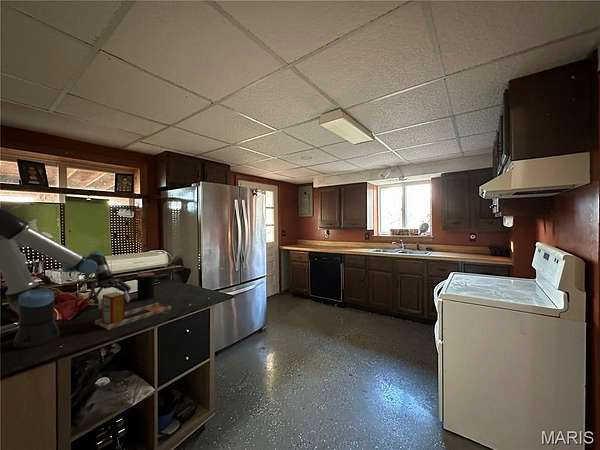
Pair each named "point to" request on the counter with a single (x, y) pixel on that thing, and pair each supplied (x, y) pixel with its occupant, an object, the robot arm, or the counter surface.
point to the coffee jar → (145, 286)
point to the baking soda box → (113, 308)
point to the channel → (136, 316)
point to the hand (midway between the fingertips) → (115, 304)
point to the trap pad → (155, 308)
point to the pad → (103, 324)
